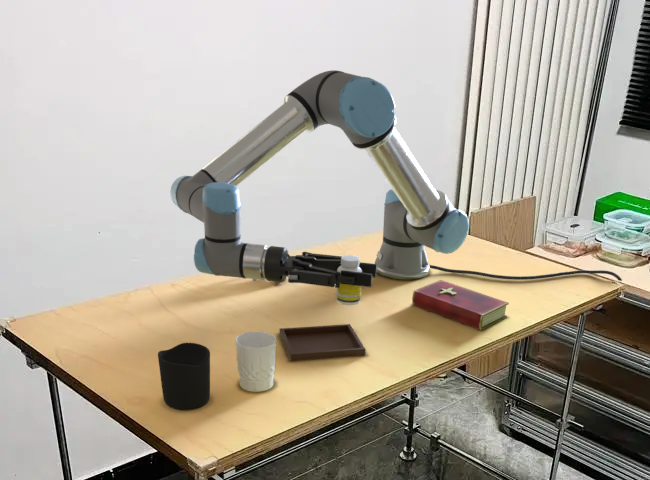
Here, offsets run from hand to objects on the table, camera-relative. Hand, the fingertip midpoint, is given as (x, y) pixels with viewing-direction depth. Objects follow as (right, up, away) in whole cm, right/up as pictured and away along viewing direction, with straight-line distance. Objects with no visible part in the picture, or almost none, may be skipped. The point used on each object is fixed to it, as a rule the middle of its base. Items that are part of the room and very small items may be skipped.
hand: (373, 275), depth 171 cm
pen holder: (-35, -27, -16) cm, 47 cm away
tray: (-12, -14, +10) cm, 21 cm away
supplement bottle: (-6, -5, +4) cm, 8 cm away
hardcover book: (+20, -4, +33) cm, 39 cm away
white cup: (-23, -24, -9) cm, 34 cm away
